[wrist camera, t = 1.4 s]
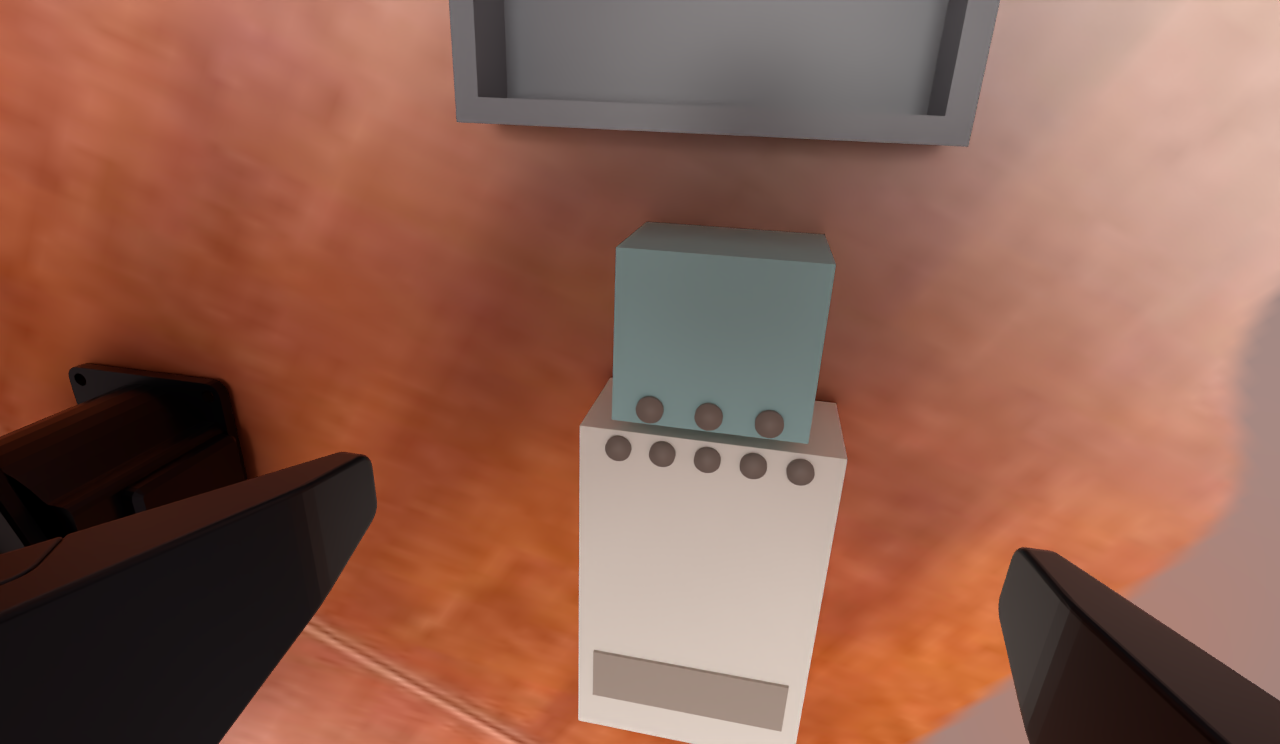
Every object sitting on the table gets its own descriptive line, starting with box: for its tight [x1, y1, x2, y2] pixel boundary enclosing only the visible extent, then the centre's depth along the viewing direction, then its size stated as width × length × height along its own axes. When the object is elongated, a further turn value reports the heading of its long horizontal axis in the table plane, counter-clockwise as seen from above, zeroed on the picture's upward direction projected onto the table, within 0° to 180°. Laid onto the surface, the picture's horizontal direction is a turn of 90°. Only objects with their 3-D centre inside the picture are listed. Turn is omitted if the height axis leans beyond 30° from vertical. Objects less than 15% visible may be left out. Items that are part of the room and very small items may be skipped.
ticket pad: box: [578, 378, 847, 744], centre depth 21 cm, size 7×11×4 cm, turn 178°
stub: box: [612, 222, 836, 444], centre depth 17 cm, size 5×4×4 cm
